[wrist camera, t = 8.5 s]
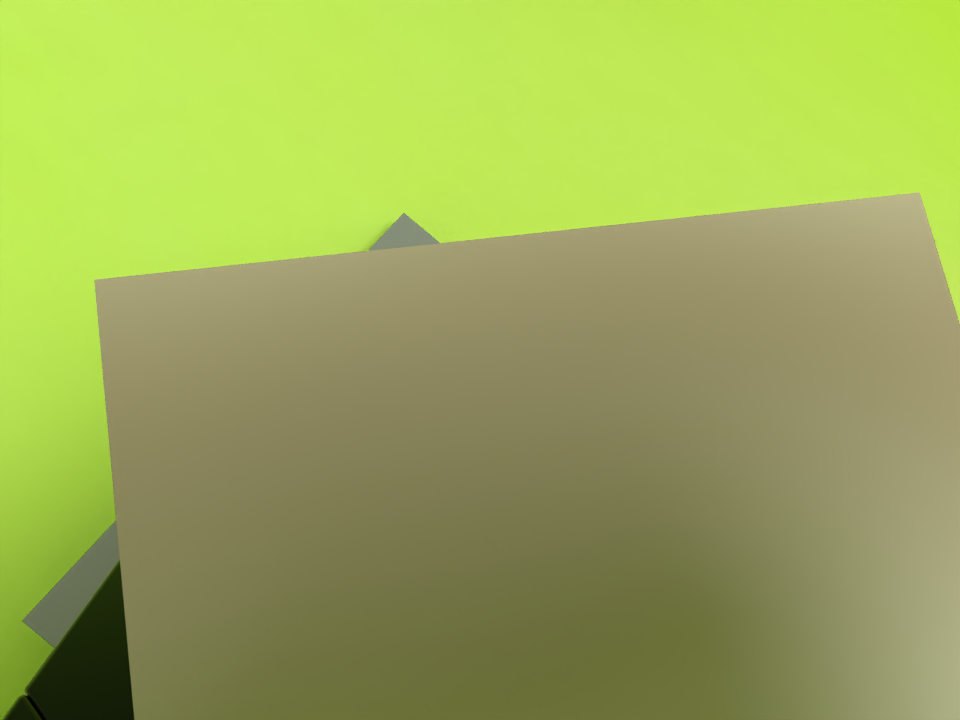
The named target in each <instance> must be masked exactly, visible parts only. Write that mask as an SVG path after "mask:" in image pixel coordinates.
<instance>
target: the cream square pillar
mask: <svg viewBox="0 0 960 720" xmlns="http://www.w3.org/2000/svg"><path fill="white" fill-rule="evenodd" d="M95 291H96V302H97V313H98V324H99V335H100V346H101V357H102V368H103V379H104V390H105V401H106V412H107V423H108V434H109V445H110V456H111V467H112V478H113V489H114V500H115V511H116V522H117V533H118V544H119V555H120V566H121V577H122V588H123V599H124V610H125V621H126V632H127V643H128V654H129V665H130V677H131V688H132V699H133V710H134V720H960V324H959V320H958V317H957V314H956V311H955V307H954V304H953V301H952V297H951V294H950V291H949V288H948V284H947V281H946V278H945V274H944V271H943V268H942V265H941V261H940V258H939V255H938V251H937V248H936V245H935V242H934V238H933V235H932V232H931V228H930V225H929V222H928V219H927V215H926V212H925V209H924V205H923V202H922V199H921V196H920V193H913V194H903V195H894V196H884V197H875V198H865V199H856V200H846V201H837V202H827V203H818V204H808V205H799V206H789V207H780V208H770V209H761V210H751V211H742V212H733V213H723V214H714V215H704V216H695V217H685V218H676V219H666V220H657V221H647V222H638V223H628V224H619V225H609V226H600V227H590V228H581V229H572V230H562V231H553V232H543V233H534V234H524V235H515V236H505V237H496V238H486V239H477V240H467V241H458V242H448V243H439V244H429V245H420V246H410V247H401V248H392V249H382V250H373V251H363V252H354V253H344V254H335V255H325V256H316V257H306V258H297V259H287V260H278V261H268V262H259V263H249V264H240V265H230V266H221V267H212V268H202V269H193V270H183V271H174V272H164V273H155V274H145V275H136V276H126V277H117V278H107V279H98V280H95Z"/></svg>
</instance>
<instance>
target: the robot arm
mask: <svg viewBox="0 0 960 720" xmlns="http://www.w3.org/2000/svg"><path fill="white" fill-rule="evenodd" d="M25 694H26V695H22V696H20V697H18V699H17V700H16V701H15V703H14V704H13V705H12V707H11V708H10V710H9V711H8V712H7V714H6V715H5V716H4V718H3V719H2V720H134V710H133V699H132V688H131V677H130V665H129V654H128V643H127V632H126V621H125V610H124V599H123V588H122V577H121V566H120V559H119V560H118V562H117V563H116V564H115V566H114V567H113V569H112V570H111V571H110V573H109V574H108V575H107V577H106V578H105V580H104V581H103V582H102V584H101V585H100V586H99V588H98V589H97V591H96V592H95V593H94V595H93V596H92V597H91V599H90V600H89V602H88V603H87V604H86V606H85V607H84V608H83V610H82V611H81V613H80V614H79V615H78V617H77V618H76V619H75V621H74V622H73V624H72V625H71V626H70V628H69V629H68V630H67V632H66V633H65V635H64V636H63V637H62V639H61V640H60V641H59V643H58V644H57V646H56V647H55V648H54V650H53V651H52V652H51V654H50V655H49V657H48V658H47V659H46V661H45V662H44V663H43V665H42V666H41V668H40V669H39V670H38V672H37V673H36V674H35V676H34V677H33V679H32V680H31V681H30V683H29V684H28V685H27V687H26V688H25Z"/></svg>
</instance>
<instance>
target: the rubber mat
mask: <svg viewBox="0 0 960 720" xmlns="http://www.w3.org/2000/svg"><path fill="white" fill-rule="evenodd" d="M429 244H439V242H438V241H437V240H436V239H435V238H433V237H432V236H431V235H430V234H429V233H427V232H426V231H425V230H424V229H423V228H421V227H420V226H419V225H418V224H417V223H415V222H414V221H413V220H412V219H411V218H409V217H408V216H407V215H406V214H405V213H403V214H402V215H401V216H400V217H399V219H398V220H397V221H396V222H395V223H394V224H393V225H392V226H391V227H390V228H389V229H388V230H387V231H386V232H385V234H384V235H383V236H382V237H381V238H380V239H379V240H378V241H377V242H376V243H375V244H374V245H373V246H372V247H371V248H370V250H369V251H373V250H382V249H392V248H401V247H410V246H420V245H429ZM119 559H120V555H119V544H118V533H117V522H116V521H115V522H114V523H113V524H112V525H111V526H110V527H109V529H108V530H107V531H106V532H105V533H104V534H103V535H102V536H101V537H100V538H99V539H98V540H97V541H96V542H95V544H94V545H93V546H92V547H91V548H90V549H89V550H88V551H87V552H86V553H85V554H84V555H83V556H82V557H81V558H80V560H79V561H78V562H77V563H76V564H75V565H74V566H73V567H72V568H71V569H70V570H69V571H68V572H67V573H66V575H65V576H64V577H63V578H62V579H61V580H60V581H59V582H58V583H57V584H56V585H55V586H54V587H53V588H52V589H51V591H50V592H49V593H48V594H47V595H46V596H45V597H44V598H43V599H42V600H41V601H40V602H39V603H38V604H37V606H36V607H35V608H34V609H33V610H32V611H31V612H30V613H29V614H28V615H27V616H26V617H25V618H24V619H23V620H22V621H23V622H24V623H25V624H26V625H27V626H29V627H30V628H31V629H32V630H33V631H35V632H36V633H37V634H38V635H40V636H41V637H42V638H43V639H44V640H46V641H47V642H48V643H49V644H51V645H52V646H53V647H54V648H55V647H56V646H57V644H58V643H59V641H60V640H61V639H62V637H63V636H64V635H65V633H66V632H67V630H68V629H69V628H70V626H71V625H72V624H73V622H74V621H75V619H76V618H77V617H78V615H79V614H80V613H81V611H82V610H83V608H84V607H85V606H86V604H87V603H88V602H89V600H90V599H91V597H92V596H93V595H94V593H95V592H96V591H97V589H98V588H99V586H100V585H101V584H102V582H103V581H104V580H105V578H106V577H107V575H108V574H109V573H110V571H111V570H112V569H113V567H114V566H115V564H116V563H117V562H118V560H119Z"/></svg>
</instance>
